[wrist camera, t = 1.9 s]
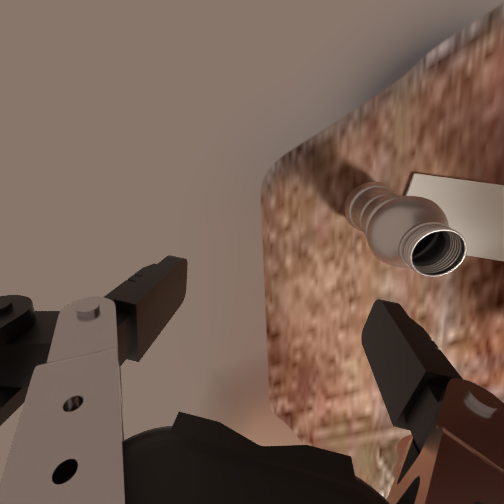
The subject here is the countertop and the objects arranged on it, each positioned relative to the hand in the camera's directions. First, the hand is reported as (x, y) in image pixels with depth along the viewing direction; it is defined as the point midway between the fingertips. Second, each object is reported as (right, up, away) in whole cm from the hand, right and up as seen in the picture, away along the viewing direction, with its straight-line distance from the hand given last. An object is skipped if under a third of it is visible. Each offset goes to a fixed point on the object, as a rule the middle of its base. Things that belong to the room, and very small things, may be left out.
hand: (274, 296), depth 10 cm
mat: (+30, +6, +23) cm, 38 cm away
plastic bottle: (+16, +9, +25) cm, 31 cm away
